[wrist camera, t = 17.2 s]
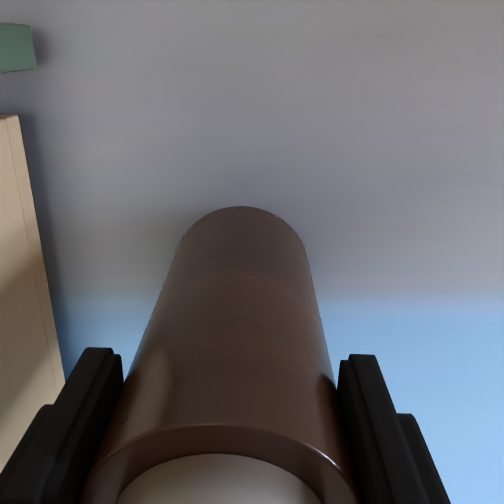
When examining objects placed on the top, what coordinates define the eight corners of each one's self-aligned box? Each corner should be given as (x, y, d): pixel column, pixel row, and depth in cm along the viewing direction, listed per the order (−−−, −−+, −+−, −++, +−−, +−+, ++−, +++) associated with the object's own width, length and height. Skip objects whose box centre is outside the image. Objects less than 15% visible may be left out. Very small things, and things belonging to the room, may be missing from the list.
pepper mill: (172, 204, 17) (7, 507, 6) (312, 207, 17) (413, 518, 6) (178, 323, 19) (64, 715, 8) (303, 326, 19) (365, 724, 8)
